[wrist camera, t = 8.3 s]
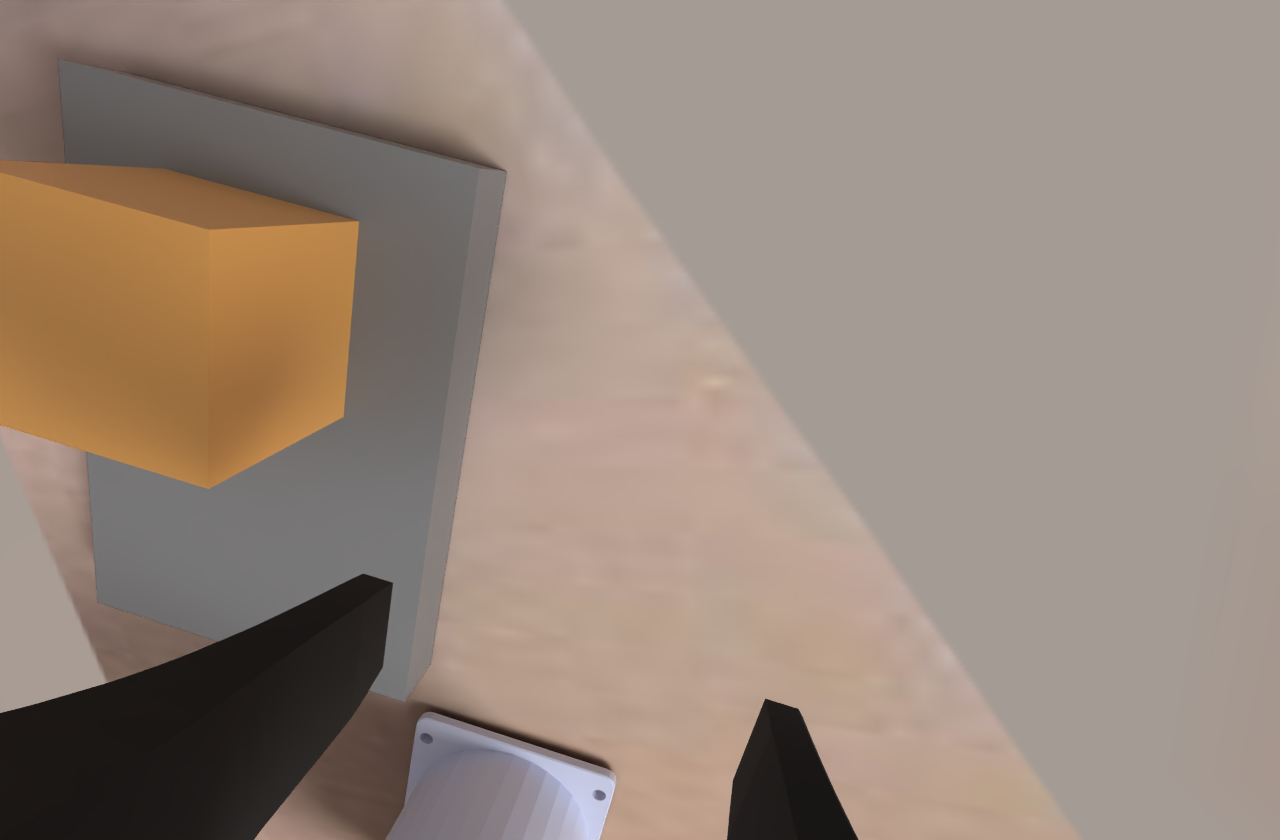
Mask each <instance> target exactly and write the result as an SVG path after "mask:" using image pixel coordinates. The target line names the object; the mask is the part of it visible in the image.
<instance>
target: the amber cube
mask: <svg viewBox="0 0 1280 840" xmlns="http://www.w3.org/2000/svg"><path fill="white" fill-rule="evenodd" d="M358 229H359V221H356V220H353V219H349V218H345V217H342V216H338V215H334V214H330V213H327V212H323V211H319V210H316V209H312V208H308V207H304V206H301V205H297V204H293V203H290V202H286V201H282V200H279V199H275V198H271V197H267V196H264V195H260V194H256V193H253V192H249V191H245V190H241V189H238V188H234V187H230V186H227V185H223V184H219V183H215V182H212V181H208V180H204V179H201V178H197V177H193V176H190V175H186V174H182V173H178V172H175V171H171V170H167V169H161V168H142V167H123V166H103V165H84V164H65V163H46V162H26V161H7V160H0V425H2V426H5V427H8V428H11V429H15V430H18V431H21V432H24V433H28V434H31V435H34V436H37V437H41V438H44V439H47V440H50V441H54V442H57V443H60V444H63V445H67V446H70V447H73V448H76V449H80V450H83V451H86V452H90V453H93V454H96V455H99V456H103V457H106V458H109V459H112V460H116V461H119V462H122V463H125V464H129V465H132V466H135V467H138V468H142V469H145V470H148V471H151V472H155V473H158V474H161V475H164V476H168V477H171V478H174V479H178V480H181V481H184V482H187V483H191V484H194V485H197V486H200V487H204V488H207V489H210V488H211V487H213V486H215V485H217V484H219V483H221V482H223V481H225V480H226V479H228V478H230V477H232V476H234V475H236V474H238V473H240V472H241V471H243V470H245V469H247V468H249V467H251V466H253V465H255V464H256V463H258V462H260V461H262V460H264V459H266V458H268V457H269V456H271V455H273V454H275V453H277V452H279V451H281V450H283V449H284V448H286V447H288V446H290V445H292V444H294V443H296V442H298V441H299V440H301V439H303V438H305V437H307V436H309V435H311V434H312V433H314V432H316V431H318V430H320V429H322V428H324V427H326V426H327V425H329V424H331V423H333V422H335V421H337V420H339V419H341V418H342V417H344V405H345V392H346V380H347V367H348V355H349V342H350V330H351V317H352V304H353V292H354V279H355V267H356V254H357V242H358Z"/></svg>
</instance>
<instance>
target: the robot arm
mask: <svg viewBox="0 0 1280 840" xmlns="http://www.w3.org/2000/svg"><path fill="white" fill-rule="evenodd" d="M392 589H393V582H389V581H386V580H383V579H380V578H377V577H373V576H370V575H367V574H364V573H363V574H361V575H359V576H357V577H354V578H352V579H350V580H348V581H346V582H344V583H342V584H340V585H338V586H336V587H334V588H332V589H330V590H328V591H326V592H324V593H322V594H320V595H318V596H316V597H314V598H312V599H310V600H308V601H306V602H304V603H302V604H300V605H298V606H296V607H293V608H291V609H289V610H287V611H285V612H283V613H281V614H279V615H277V616H275V617H273V618H270V619H268V620H266V621H264V622H262V623H260V624H258V625H256V626H253V627H251V628H249V629H246V630H244V631H242V632H239V633H237V634H235V635H232V636H230V637H228V638H226V639H223V640H221V641H219V642H216V643H214V644H212V645H209V646H207V647H205V648H202V649H200V650H198V651H195V652H193V653H190V654H188V655H185V656H183V657H180V658H177V659H175V660H172V661H169V662H167V663H164V664H161V665H159V666H156V667H153V668H150V669H147V670H144V671H142V672H139V673H136V674H133V675H130V676H127V677H124V678H121V679H118V680H115V681H112V682H109V683H106V684H103V685H100V686H96V687H92V688H89V689H86V690H82V691H79V692H76V693H72V694H69V695H66V696H62V697H58V698H55V699H51V700H48V701H45V702H41V703H38V704H34V705H31V706H27V707H23V708H19V709H15V710H11V711H7V712H3V713H0V840H254V839H255V837H256V836H257V835H258V833H259V832H260V831H261V829H262V828H263V827H264V825H265V824H266V823H267V822H268V821H269V819H270V818H271V817H272V816H273V814H274V813H275V812H276V811H277V809H278V808H279V807H280V806H281V804H282V803H283V802H284V801H285V799H286V798H287V797H288V796H289V795H290V793H291V792H292V791H293V790H294V788H295V787H296V786H297V785H298V783H299V782H300V781H301V780H302V778H303V777H304V776H305V775H306V774H307V772H308V771H309V770H310V769H311V767H312V766H313V765H314V764H315V762H316V761H317V760H318V759H319V757H320V756H321V755H322V754H323V753H324V751H325V750H326V749H327V747H328V746H329V745H330V744H331V742H332V741H333V740H334V739H335V737H336V736H337V735H338V734H339V732H340V731H341V730H342V729H343V727H344V726H345V725H346V724H347V722H348V721H349V720H350V718H351V717H352V716H353V714H354V713H355V711H356V710H357V708H358V707H359V705H360V703H361V702H362V700H363V699H364V697H365V696H366V694H367V693H368V691H369V689H370V688H371V686H372V684H373V683H374V681H375V679H376V678H377V676H378V675H379V673H380V671H381V670H382V668H383V663H384V654H385V646H386V638H387V630H388V621H389V613H390V605H391V597H392ZM428 734H429V735H428ZM430 735H431V736H430ZM615 786H616V776H615V774H614V773H613V772H612V771H610V770H608V769H606V768H603V767H600V766H597V765H594V764H591V763H588V762H584V761H581V760H578V759H575V758H572V757H569V756H566V755H563V754H560V753H557V752H554V751H551V750H548V749H545V748H541V747H538V746H535V745H532V744H529V743H526V742H523V741H520V740H517V739H514V738H511V737H508V736H505V735H502V734H498V733H495V732H492V731H489V730H486V729H483V728H480V727H477V726H474V725H471V724H468V723H465V722H462V721H459V720H455V719H452V718H449V717H446V716H443V715H440V714H437V713H434V712H425V713H423V714H422V715H421V717H420V718H419V720H418V722H417V724H416V730H415V737H414V744H413V750H412V757H411V763H410V770H409V777H408V783H407V790H406V797H405V803H404V808H403V809H402V811H401V813H400V815H399V816H398V818H397V820H396V822H395V823H394V825H393V827H392V829H391V830H390V832H389V834H388V836H387V837H386V839H385V840H599V838H600V835H601V832H602V829H603V825H604V822H605V819H606V816H607V812H608V809H609V806H610V803H611V799H612V796H613V793H614V790H615ZM598 790H601V791H603V792H601V791H598ZM727 840H858V838H857V836H856V834H855V832H854V830H853V828H852V826H851V824H850V822H849V820H848V818H847V816H846V814H845V812H844V809H843V807H842V805H841V803H840V801H839V799H838V797H837V795H836V793H835V791H834V788H833V786H832V784H831V782H830V780H829V778H828V775H827V773H826V771H825V768H824V766H823V764H822V762H821V759H820V757H819V755H818V752H817V750H816V748H815V745H814V743H813V741H812V738H811V736H810V734H809V731H808V729H807V726H806V724H805V722H804V719H803V717H802V715H801V713H800V711H799V709H797V708H793V707H790V706H787V705H784V704H781V703H777V702H774V701H771V700H768V699H765V701H764V703H763V706H762V708H761V711H760V713H759V716H758V718H757V721H756V724H755V726H754V729H753V731H752V734H751V736H750V739H749V741H748V744H747V746H746V749H745V751H744V754H743V756H742V759H741V761H740V764H739V767H738V769H737V772H736V774H735V777H734V779H733V786H732V795H731V805H730V814H729V825H728V836H727Z"/></svg>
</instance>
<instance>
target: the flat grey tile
mask: <svg viewBox="0 0 1280 840" xmlns="http://www.w3.org/2000/svg"><path fill="white" fill-rule="evenodd" d="M58 68H59V81H60V95H61V109H62V123H63V136H64V150H65V164H84V165H103V166H123V167H142V168H161V169H167V170H171V171H175V172H178V173H182V174H186V175H190V176H193V177H197V178H201V179H204V180H208V181H212V182H215V183H219V184H223V185H227V186H230V187H234V188H238V189H241V190H245V191H249V192H253V193H256V194H260V195H264V196H267V197H271V198H275V199H279V200H282V201H286V202H290V203H293V204H297V205H301V206H304V207H308V208H312V209H316V210H319V211H323V212H327V213H330V214H334V215H338V216H342V217H345V218H349V219H353V220H356V221H359V229H358V242H357V254H356V267H355V279H354V292H353V304H352V317H351V330H350V342H349V355H348V367H347V380H346V392H345V405H344V417H342V418H341V419H339V420H337V421H335V422H333V423H331V424H329V425H327V426H326V427H324V428H322V429H320V430H318V431H316V432H314V433H312V434H311V435H309V436H307V437H305V438H303V439H301V440H299V441H298V442H296V443H294V444H292V445H290V446H288V447H286V448H284V449H283V450H281V451H279V452H277V453H275V454H273V455H271V456H269V457H268V458H266V459H264V460H262V461H260V462H258V463H256V464H255V465H253V466H251V467H249V468H247V469H245V470H243V471H241V472H240V473H238V474H236V475H234V476H232V477H230V478H228V479H226V480H225V481H223V482H221V483H219V484H217V485H215V486H213V487H211V488H210V489H207V488H204V487H200V486H197V485H194V484H191V483H187V482H184V481H181V480H178V479H174V478H171V477H168V476H164V475H161V474H158V473H155V472H151V471H148V470H145V469H142V468H138V467H135V466H132V465H129V464H125V463H122V462H119V461H116V460H112V459H109V458H106V457H103V456H99V455H96V454H93V453H90V452H87V465H88V479H89V493H90V506H91V520H92V534H93V548H94V561H95V575H96V589H97V602H98V603H101V604H104V605H107V606H110V607H113V608H116V609H119V610H122V611H126V612H129V613H132V614H135V615H138V616H141V617H144V618H147V619H150V620H153V621H156V622H159V623H162V624H165V625H169V626H172V627H175V628H178V629H181V630H184V631H187V632H190V633H193V634H196V635H199V636H202V637H205V638H209V639H212V640H215V641H218V642H219V641H221V640H223V639H226V638H228V637H230V636H232V635H235V634H237V633H239V632H242V631H244V630H246V629H249V628H251V627H253V626H256V625H258V624H260V623H262V622H264V621H266V620H268V619H270V618H273V617H275V616H277V615H279V614H281V613H283V612H285V611H287V610H289V609H291V608H293V607H296V606H298V605H300V604H302V603H304V602H306V601H308V600H310V599H312V598H314V597H316V596H318V595H320V594H322V593H324V592H326V591H328V590H330V589H332V588H334V587H336V586H338V585H340V584H342V583H344V582H346V581H348V580H350V579H352V578H354V577H357V576H359V575H361V574H363V573H364V574H367V575H370V576H373V577H377V578H380V579H383V580H386V581H389V582H393V589H392V597H391V605H390V613H389V621H388V630H387V638H386V646H385V654H384V663H383V668H382V670H381V671H380V673H379V675H378V676H377V678H376V679H375V681H374V683H373V684H372V686H371V688H370V689H369V691H371V692H374V693H378V694H381V695H384V696H387V697H390V698H393V699H396V700H399V701H402V702H405V701H406V699H407V698H408V697H409V695H410V694H411V692H412V691H413V689H414V688H415V686H416V685H417V683H418V682H419V681H420V679H421V678H422V676H423V675H424V673H425V672H426V670H427V669H428V668H429V666H430V665H431V660H432V653H433V647H434V640H435V634H436V627H437V621H438V614H439V608H440V601H441V595H442V588H443V582H444V575H445V569H446V562H447V556H448V549H449V543H450V536H451V530H452V523H453V517H454V510H455V504H456V498H457V491H458V485H459V478H460V472H461V465H462V459H463V452H464V446H465V439H466V433H467V426H468V420H469V413H470V407H471V400H472V394H473V387H474V381H475V374H476V368H477V361H478V355H479V349H480V342H481V336H482V329H483V323H484V316H485V310H486V303H487V297H488V290H489V284H490V277H491V271H492V264H493V258H494V251H495V245H496V238H497V232H498V225H499V219H500V212H501V206H502V199H503V193H504V187H505V180H506V174H507V171H503V170H499V169H495V168H491V167H488V166H484V165H480V164H476V163H472V162H468V161H464V160H461V159H457V158H453V157H449V156H445V155H441V154H438V153H434V152H430V151H426V150H422V149H418V148H414V147H411V146H407V145H403V144H399V143H395V142H391V141H387V140H384V139H380V138H376V137H372V136H368V135H364V134H361V133H357V132H353V131H349V130H345V129H341V128H337V127H334V126H330V125H326V124H322V123H318V122H314V121H311V120H307V119H303V118H299V117H295V116H291V115H287V114H284V113H280V112H276V111H272V110H268V109H264V108H261V107H257V106H253V105H249V104H245V103H241V102H237V101H234V100H230V99H226V98H222V97H218V96H214V95H210V94H207V93H203V92H199V91H195V90H191V89H187V88H184V87H180V86H176V85H172V84H168V83H164V82H160V81H157V80H153V79H149V78H145V77H141V76H137V75H134V74H130V73H126V72H121V71H116V70H111V69H106V68H101V67H96V66H91V65H87V64H82V63H77V62H72V61H67V60H62V59H58Z"/></svg>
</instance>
